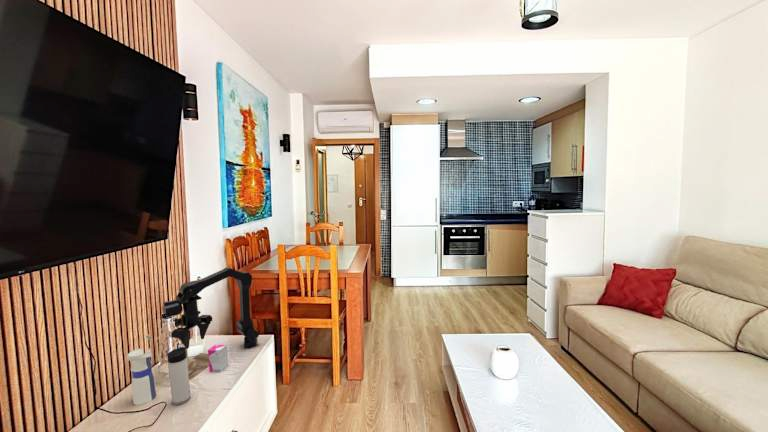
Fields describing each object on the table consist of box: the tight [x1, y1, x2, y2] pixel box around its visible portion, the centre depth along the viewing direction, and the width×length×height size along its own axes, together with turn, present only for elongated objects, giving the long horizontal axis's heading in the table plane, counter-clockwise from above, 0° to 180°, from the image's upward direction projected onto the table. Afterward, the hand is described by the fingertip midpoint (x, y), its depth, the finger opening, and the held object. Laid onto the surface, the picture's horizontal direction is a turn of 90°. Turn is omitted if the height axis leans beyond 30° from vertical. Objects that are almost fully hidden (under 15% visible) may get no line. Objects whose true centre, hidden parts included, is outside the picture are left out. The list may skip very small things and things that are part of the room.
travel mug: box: [166, 346, 192, 406], centre depth 135 cm, size 6×7×20 cm
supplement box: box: [207, 344, 229, 373], centre depth 155 cm, size 6×6×12 cm
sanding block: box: [187, 358, 196, 376], centre depth 153 cm, size 5×8×5 cm, turn 76°
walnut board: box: [189, 352, 209, 381], centre depth 159 cm, size 22×14×2 cm, turn 165°
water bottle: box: [125, 333, 158, 406], centre depth 137 cm, size 8×9×25 cm
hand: (195, 343), depth 159 cm, fingers open, 9 cm apart
